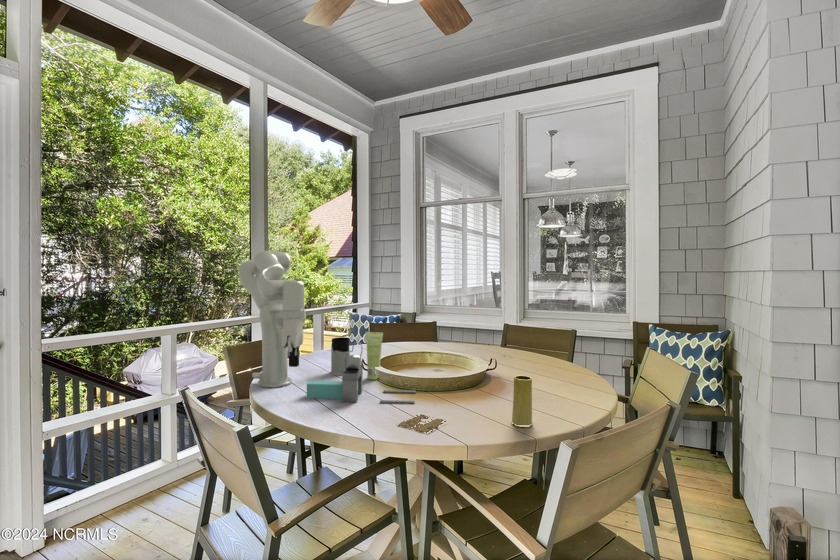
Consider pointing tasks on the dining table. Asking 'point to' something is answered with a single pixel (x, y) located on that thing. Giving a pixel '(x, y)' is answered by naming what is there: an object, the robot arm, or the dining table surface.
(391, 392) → the pair of grey rods
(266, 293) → the robot arm
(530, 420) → the vase
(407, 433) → the dining table surface
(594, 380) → the dining table surface
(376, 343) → the tube
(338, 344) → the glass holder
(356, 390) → the housing
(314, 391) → the teal rectangular block
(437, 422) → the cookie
